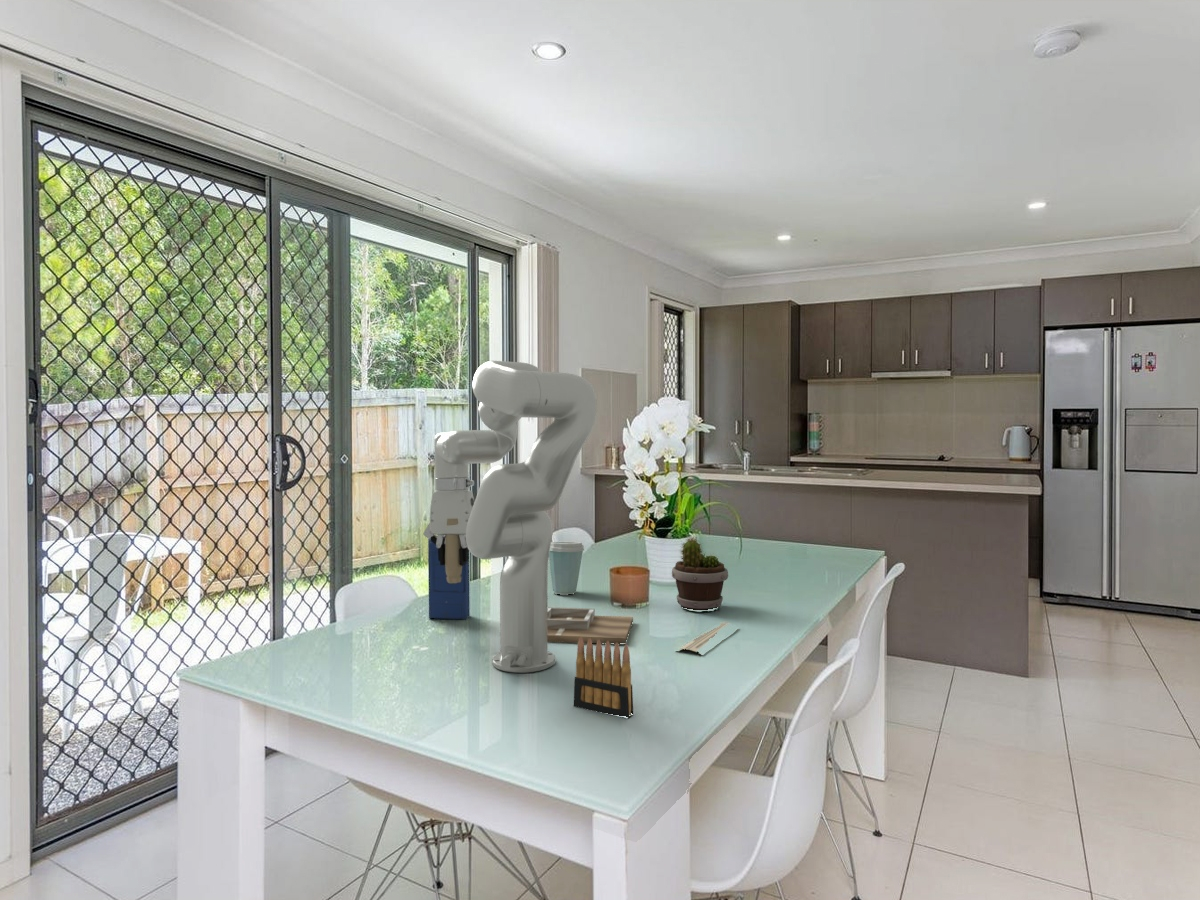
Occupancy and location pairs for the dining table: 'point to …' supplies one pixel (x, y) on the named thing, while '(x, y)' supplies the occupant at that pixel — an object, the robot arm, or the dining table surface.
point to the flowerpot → (698, 578)
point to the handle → (452, 555)
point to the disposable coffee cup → (565, 566)
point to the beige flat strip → (702, 639)
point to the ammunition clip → (603, 680)
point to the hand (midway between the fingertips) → (453, 563)
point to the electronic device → (446, 589)
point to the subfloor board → (586, 626)
